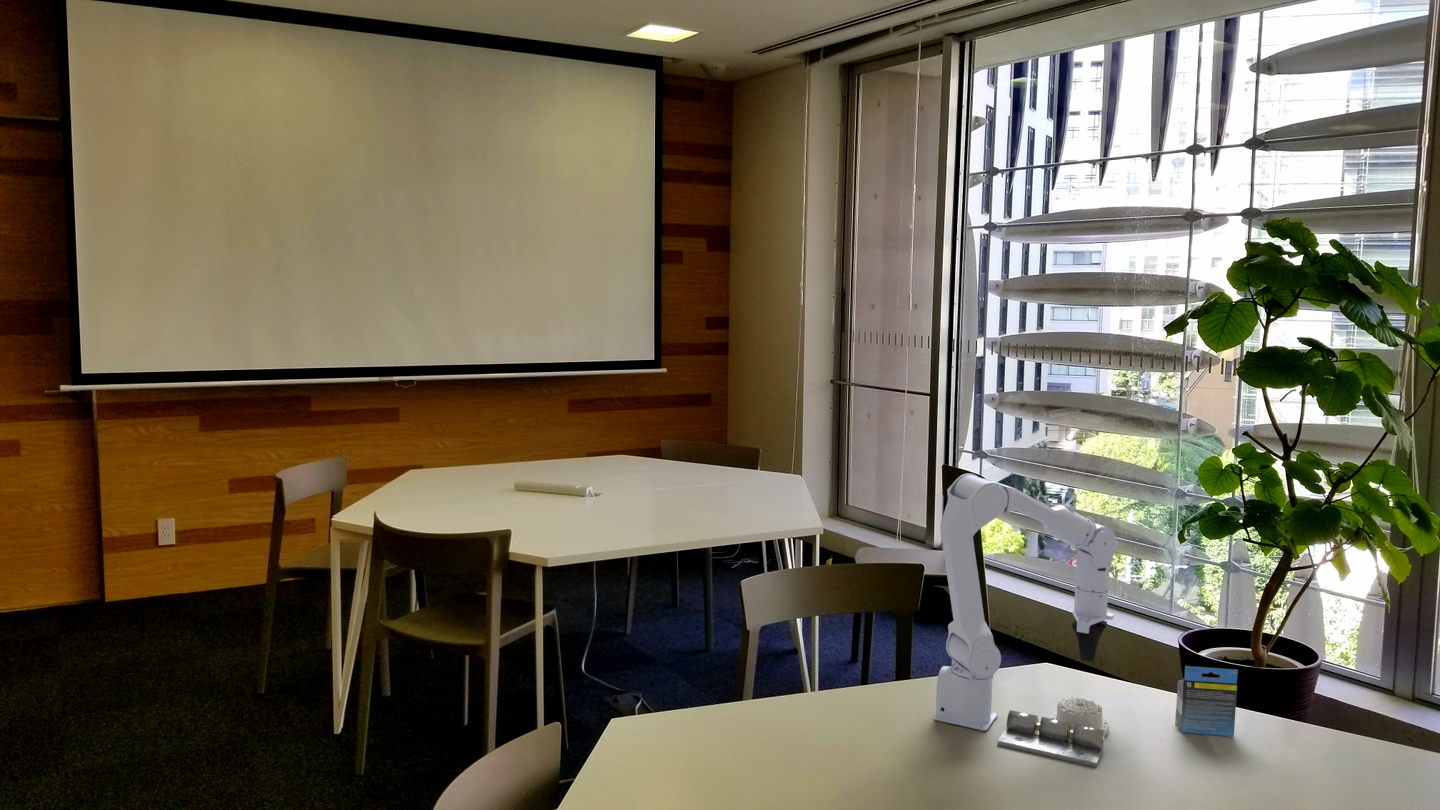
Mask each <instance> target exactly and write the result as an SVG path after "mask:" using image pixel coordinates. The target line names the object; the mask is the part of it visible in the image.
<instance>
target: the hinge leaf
mask: <svg viewBox="0 0 1440 810" xmlns="http://www.w3.org/2000/svg"><path fill="white" fill-rule="evenodd" d="M1037 733H1038V734H1037ZM1105 738H1106V736H1105V731H1104V730H1103V729H1098V728H1093V727H1089V726H1084V725H1079V724H1075V725H1074V729H1073V730H1071V723H1070V722H1065V721H1060V720H1055V719H1051V718H1050V717H1045V716H1041V719H1040V722H1039V716H1038V715H1035V714H1031V713H1026V712H1022V711H1018V710H1013V709H1010V710H1009V711H1008V714H1007V719H1006V728H1005V729H1004V730H1003V732H1002V734H1001V735H1000V736H999V737H998V739H997V746H998V747H999V746H1000V747H1004V748H1008V749H1009V748H1010V749H1014V750H1018V751H1021V752H1022V751H1023V752H1025V753H1030V754H1033V755H1035V754H1036V755H1038V756H1039V755H1040V756H1043V757H1044V756H1045V757H1049V758H1052V759H1053V758H1054V759H1057V760H1061V761H1065V762H1068V763H1069V762H1070V763H1074V764H1077V765H1078V764H1079V765H1084V766H1087V767H1091V768H1097V766H1098V764H1099V761H1100V760H1101V757H1102V755H1103V752H1104V751H1103V750H1104V745H1105ZM1070 740H1072V741H1070Z"/></svg>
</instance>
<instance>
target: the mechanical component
mask: <svg viewBox="0 0 1440 810" xmlns="http://www.w3.org/2000/svg"><path fill="white" fill-rule="evenodd" d="M1049 718H1051V719H1055V720H1060V721H1065V722H1070V723H1071V730H1073V729H1074V725H1075V724H1079V725H1084V726H1089V727H1093V728H1098V729H1103V730H1104V731H1105V737H1106V736H1107V735H1108V734H1109V730H1110V729H1109V728H1110V725H1109V724H1110V723H1109V722H1108V721H1107V720H1106V718H1103V707H1102V706H1101V705H1100V704H1097V703H1095V701H1093V700H1087V699H1085V698H1080V697H1070V698H1065V697H1064V698H1062V699H1061V700H1060V701H1059V700H1058V701H1057V708H1056V711H1053V712H1052V713H1050V715H1049Z"/></svg>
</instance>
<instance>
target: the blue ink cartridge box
mask: <svg viewBox="0 0 1440 810" xmlns="http://www.w3.org/2000/svg"><path fill="white" fill-rule="evenodd" d="M1210 673H1212V674H1213V675H1217V676H1219V677H1216V676H1215V677H1210V676H1203V674H1206V675H1209V674H1210ZM1238 674H1239V670H1238V669H1236V668H1235V669H1233V668H1221V667H1220V668H1219V667H1207V666H1206V667H1205V666H1193V665H1192V666H1191V665H1185V666H1184V675H1183V676H1184V678H1183V679H1179V680H1177V689H1176V690H1177V691H1176V692H1177V693H1176V702H1175V703H1176V707H1175V721H1174V724H1175V727H1176V726H1177V727H1178V728H1177V727H1176V728H1177V730H1178V731H1179V730H1180V731H1179V732H1180V733H1181V734H1193V735H1194V734H1195V735H1207V736H1208V735H1209V736H1219V737H1220V736H1221V737H1230V738H1234V737H1235V727H1236V725H1235V722H1236V711H1237V710H1236V708H1237V706H1236V705H1237V694H1238V683H1237V681H1238Z"/></svg>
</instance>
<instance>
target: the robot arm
mask: <svg viewBox="0 0 1440 810" xmlns="http://www.w3.org/2000/svg"><path fill="white" fill-rule="evenodd" d="M946 491H947V493H946V494H947V501H946V505H945V509H944V512H943V515H942V519H941V521H940V525H939V526H940V536H941V544H942V551H943V555H944V562H945V569H946V571H945V572H946V578H947V582H948V583H947V584H948V591H949V596H950V597H949V598H950V604H951V612H952V617H953V618H952V619H953V620H952V621H951V622H949V624H948V625H947V629H948V635H947V636H948V637H947V638H946V643H945V648H946V649H945V650H946V653H947V655H948V656H949V657H950V658H951V666H947V665H943V666H942V667H941V668H940V670H939V672H938V675H937V680H936V681H937V682H936V692H935V693H936V695H935V715H934V717H933V719H934V720H935V721H938V722H943V723H947V724H952V725H957V726H960V727H965V728H970V729H974V730H979V731H984V732H985V731H988V730H989V728H990V727H991V726H992V724H993V723H994V721H995V720H996V718H998V713H997V712H993V711H992V700H993V699H992V698H993V680H994V679H993V678H994V674H996V673H997V672H998V670H999V669H1000V665H1001V661H1002V655H1001V652H1000V649H998V647H997V645H996V644H995V641H994V636H993V633H992V632H991V630H990V628H989V626H988V624H987V622H986V620H985V614H984V613H985V612H984V608H983V607H984V606H983V600H982V593H981V592H982V591H981V585H980V578H979V570H978V565H977V558H976V552H975V551H976V550H975V544H974V542H975V541H974V536H975V534H976V533H977V532H978V531H979V530H980V529H982V528H983V527H985V526H986V525H988V524H989V523H990V522H992V521H993V520H995V519H996V518H998V517H1000V515H1001V514H1003V513H1006V514H1009V513H1011V512H1012V511H1015V512H1018V513H1020V514H1022V515H1024V516H1027V517H1028V518H1030V519H1034V520H1035V521H1038V522H1040V523H1042V527H1043V529H1044V532H1045V533H1046V534H1047V535H1049V536H1052V537H1053V538H1056V539H1058V540H1059V541H1062V542H1064V543H1065V544H1068V545H1070V546H1072V547H1073V548H1074V549H1075V550H1077V551H1076V568H1075V588H1074V603H1073V604H1074V606H1073V608H1072V615H1073V617H1074V618H1075V619H1074V620H1073V621H1072V622H1071V627H1072V629H1073V632H1074V633H1075V637H1076V640H1077V644H1078V651H1079V655H1080V660H1081V661H1086V662H1091V663H1093V662H1094V660H1095V658H1096V655H1097V651H1098V648H1099V644H1100V640H1101V637H1102V636H1103V633H1104V630H1105V629H1106V627H1107V626H1108V622H1107V621H1105V620H1109V621H1112V620H1114V617H1115V616H1114V613H1111V612H1108V601H1109V586H1110V585H1109V584H1110V583H1109V582H1110V567H1111V565H1112V564H1113V563H1112V561H1113V556H1114V555H1115V554H1116V552H1117V551H1118V548H1119V545H1120V544H1119V543H1120V542H1119V541H1117V538H1116V534H1115V533H1114V531H1113V529H1111V528H1109V527H1107V526H1104V525H1101V524H1099V523H1096V519H1095V518H1093V517H1092V516H1090V515H1088V516H1083V515H1082V514H1079V512H1076V511H1075V510H1076V508H1075V507H1073V506H1071V505H1069V504H1065V505H1060V504H1058V505H1055V506H1052V507H1049V505H1046V504H1045V503H1044V502H1043V503H1042V502H1041V501H1040V500H1037V499H1035V498H1033V497H1032V496H1030V495H1028V494H1026V493H1024V492H1022V491H1021V490H1019V489H1017V488H1015V487H1012V486H1010V485H1006V484H1003V483H1000V482H997V481H994V480H990V479H989V478H988V479H987V478H982V477H979V476H978V475H976V474H974V473H964V474H962V475H960V476H958V477H957V478H956V479H955V480H954V481H953V483H952V484H951V485H950V486H949V487H948V488H947V490H946Z"/></svg>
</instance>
